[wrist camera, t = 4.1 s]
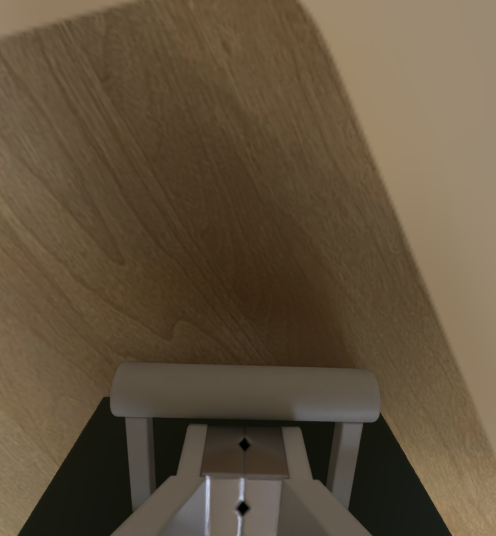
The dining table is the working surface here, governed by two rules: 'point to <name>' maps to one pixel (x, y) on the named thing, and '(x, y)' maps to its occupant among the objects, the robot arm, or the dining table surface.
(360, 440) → the drawer
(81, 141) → the dining table surface
